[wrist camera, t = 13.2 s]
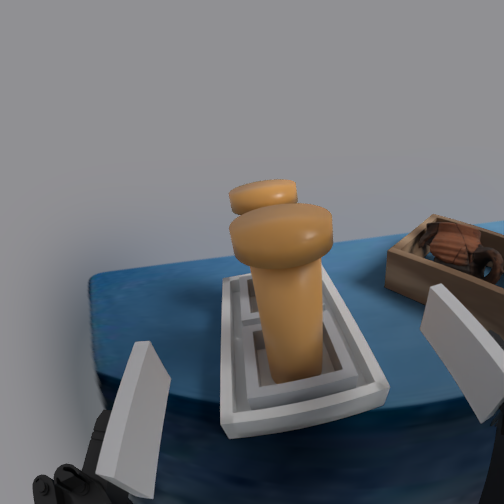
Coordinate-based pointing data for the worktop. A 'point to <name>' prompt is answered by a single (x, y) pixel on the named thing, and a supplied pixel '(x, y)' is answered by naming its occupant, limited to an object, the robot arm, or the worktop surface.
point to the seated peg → (262, 195)
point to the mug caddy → (446, 276)
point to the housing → (300, 391)
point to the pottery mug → (462, 250)
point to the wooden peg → (287, 282)
